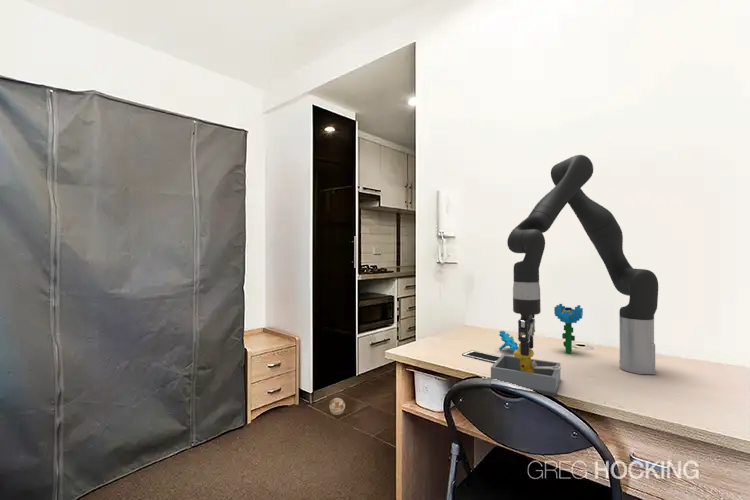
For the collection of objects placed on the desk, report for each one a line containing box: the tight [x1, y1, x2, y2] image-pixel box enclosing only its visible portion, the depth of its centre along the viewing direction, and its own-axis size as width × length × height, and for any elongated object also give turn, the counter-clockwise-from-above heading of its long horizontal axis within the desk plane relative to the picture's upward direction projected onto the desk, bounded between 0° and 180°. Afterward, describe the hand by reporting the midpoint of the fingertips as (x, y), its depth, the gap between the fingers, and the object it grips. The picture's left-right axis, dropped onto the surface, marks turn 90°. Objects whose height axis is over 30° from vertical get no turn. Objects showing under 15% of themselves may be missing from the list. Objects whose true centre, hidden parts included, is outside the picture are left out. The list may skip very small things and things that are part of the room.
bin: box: [490, 354, 561, 398], centre depth 107 cm, size 17×15×5 cm
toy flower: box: [554, 303, 584, 354], centre depth 138 cm, size 9×9×18 cm
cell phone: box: [461, 349, 501, 364], centre depth 131 cm, size 8×15×1 cm, turn 45°
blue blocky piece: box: [498, 330, 519, 353], centre depth 140 cm, size 11×6×10 cm
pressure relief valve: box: [513, 343, 562, 373], centre depth 105 cm, size 6×12×10 cm, turn 51°
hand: (527, 351), depth 107 cm, fingers open, 8 cm apart
